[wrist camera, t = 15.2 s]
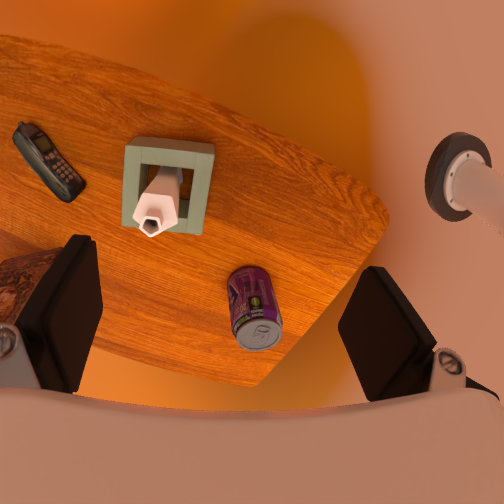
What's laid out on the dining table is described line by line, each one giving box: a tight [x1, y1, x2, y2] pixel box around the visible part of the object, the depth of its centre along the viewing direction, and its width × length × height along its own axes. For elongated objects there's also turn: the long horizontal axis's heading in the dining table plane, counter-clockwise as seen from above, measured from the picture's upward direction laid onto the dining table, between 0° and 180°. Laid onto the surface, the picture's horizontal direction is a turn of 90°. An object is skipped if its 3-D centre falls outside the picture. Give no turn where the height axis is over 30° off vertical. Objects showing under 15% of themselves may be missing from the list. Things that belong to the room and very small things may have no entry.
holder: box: [122, 136, 215, 235], centre depth 36 cm, size 10×10×6 cm
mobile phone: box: [12, 122, 86, 203], centre depth 32 cm, size 5×3×15 cm
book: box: [0, 247, 63, 325], centre depth 32 cm, size 16×6×25 cm, turn 96°
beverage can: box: [227, 267, 283, 351], centre depth 45 cm, size 7×7×12 cm
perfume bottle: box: [133, 165, 184, 237], centre depth 32 cm, size 5×4×15 cm
